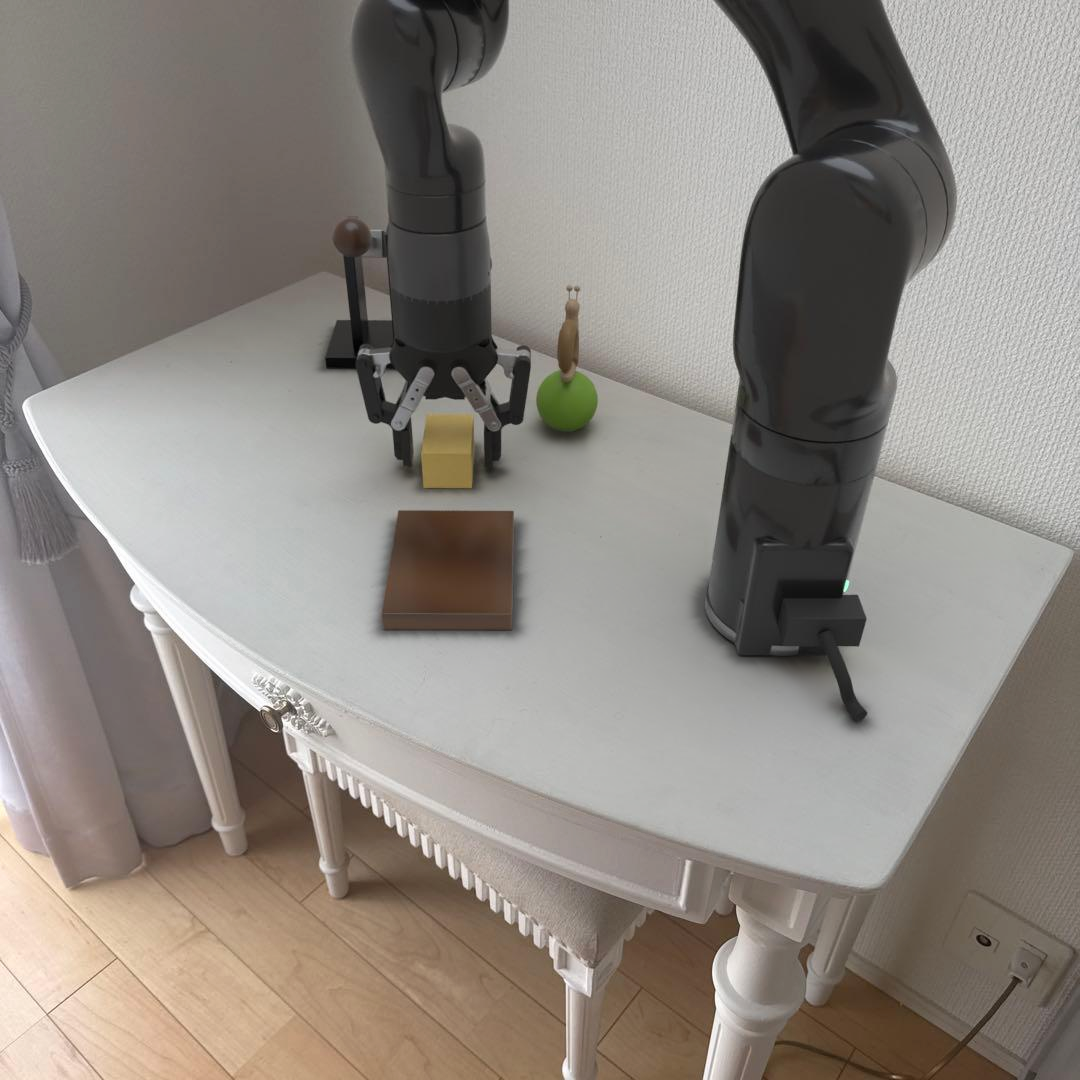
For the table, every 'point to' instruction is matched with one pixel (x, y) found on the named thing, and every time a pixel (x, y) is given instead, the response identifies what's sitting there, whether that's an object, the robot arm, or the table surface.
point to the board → (450, 571)
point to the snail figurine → (567, 380)
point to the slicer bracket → (358, 321)
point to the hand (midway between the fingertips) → (449, 461)
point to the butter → (448, 451)
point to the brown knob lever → (359, 239)
